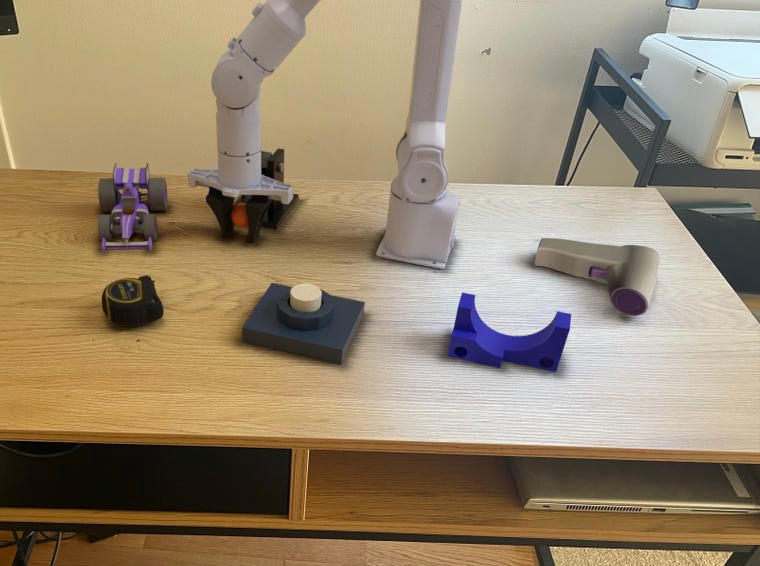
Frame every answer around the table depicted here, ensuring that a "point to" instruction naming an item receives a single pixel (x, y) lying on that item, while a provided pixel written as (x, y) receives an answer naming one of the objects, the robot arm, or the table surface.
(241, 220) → the lever
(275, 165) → the bracket
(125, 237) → the toy race car
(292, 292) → the button
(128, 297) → the tape measure
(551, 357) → the blue semicircular cradle
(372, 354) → the table surface
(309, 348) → the control block
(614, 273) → the infrared thermometer
